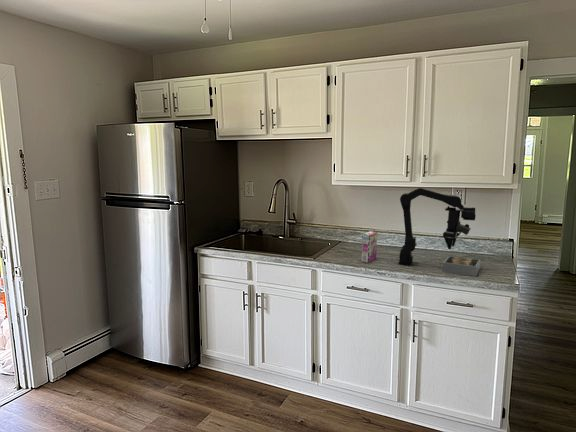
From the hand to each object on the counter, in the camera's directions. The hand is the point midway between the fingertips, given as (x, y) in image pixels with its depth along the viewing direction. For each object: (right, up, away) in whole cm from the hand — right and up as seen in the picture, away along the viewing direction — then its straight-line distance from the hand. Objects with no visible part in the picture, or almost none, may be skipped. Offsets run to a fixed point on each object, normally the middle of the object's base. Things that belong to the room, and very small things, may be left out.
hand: (451, 247), depth 220 cm
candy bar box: (-41, -9, +16) cm, 45 cm away
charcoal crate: (+4, -12, -4) cm, 13 cm away
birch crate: (+4, -11, -4) cm, 12 cm away
